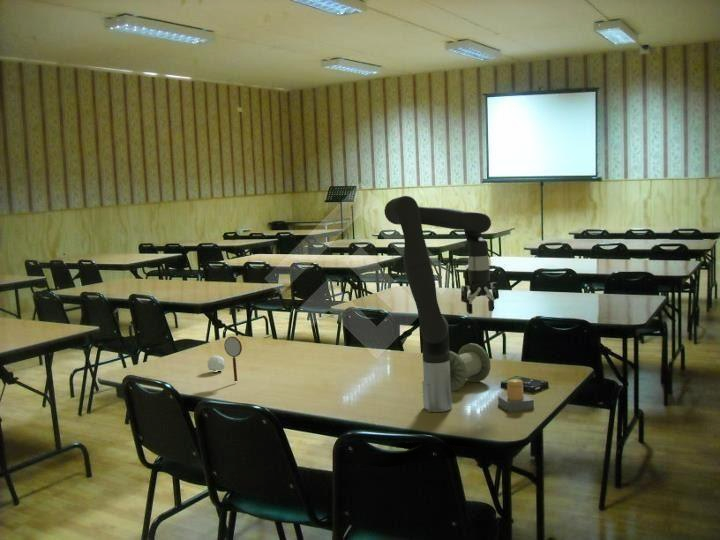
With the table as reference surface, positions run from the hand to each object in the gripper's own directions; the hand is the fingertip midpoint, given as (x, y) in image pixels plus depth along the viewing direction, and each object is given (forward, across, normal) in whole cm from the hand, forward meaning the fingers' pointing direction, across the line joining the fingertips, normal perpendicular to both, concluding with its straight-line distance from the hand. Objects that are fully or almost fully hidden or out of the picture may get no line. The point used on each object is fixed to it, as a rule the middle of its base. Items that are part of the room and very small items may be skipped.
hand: (480, 312), depth 271 cm
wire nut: (+27, +1, -20) cm, 34 cm away
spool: (+31, -1, +14) cm, 34 cm away
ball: (+31, -83, +93) cm, 129 cm away
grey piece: (+30, +1, -20) cm, 36 cm away
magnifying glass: (+31, -79, +68) cm, 109 cm away
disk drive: (+31, +17, -1) cm, 35 cm away
